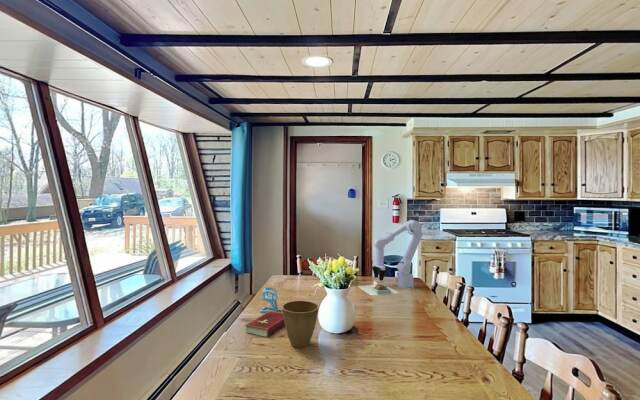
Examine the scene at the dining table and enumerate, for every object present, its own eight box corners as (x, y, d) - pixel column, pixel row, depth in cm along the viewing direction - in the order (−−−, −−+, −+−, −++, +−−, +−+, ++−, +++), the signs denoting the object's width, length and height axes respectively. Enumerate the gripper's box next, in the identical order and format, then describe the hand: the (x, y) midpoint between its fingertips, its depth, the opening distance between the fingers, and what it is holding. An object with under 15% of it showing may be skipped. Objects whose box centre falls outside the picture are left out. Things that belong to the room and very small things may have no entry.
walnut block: (382, 290, 235) (382, 284, 235) (386, 293, 230) (386, 286, 230) (375, 291, 234) (375, 284, 234) (378, 293, 229) (378, 286, 229)
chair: (275, 314, 194) (275, 290, 193) (259, 312, 196) (259, 289, 195) (279, 309, 201) (280, 286, 201) (264, 307, 203) (265, 285, 203)
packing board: (383, 285, 251) (384, 280, 251) (399, 294, 230) (399, 289, 230) (356, 287, 246) (357, 282, 246) (370, 296, 225) (370, 291, 225)
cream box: (380, 285, 248) (380, 279, 248) (384, 287, 243) (384, 281, 243) (373, 285, 246) (373, 279, 246) (376, 287, 241) (376, 281, 241)
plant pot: (274, 346, 155) (274, 307, 154) (296, 334, 167) (297, 298, 167) (304, 355, 147) (304, 314, 146) (325, 342, 159) (325, 304, 158)
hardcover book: (290, 322, 183) (291, 313, 183) (267, 338, 164) (267, 328, 164) (269, 318, 188) (269, 310, 188) (244, 333, 169) (244, 324, 169)
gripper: (368, 256, 250) (368, 276, 250) (378, 260, 236) (377, 282, 236) (378, 255, 252) (378, 276, 252) (388, 259, 238) (388, 281, 238)
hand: (378, 278), depth 244 cm, fingers open, 7 cm apart
